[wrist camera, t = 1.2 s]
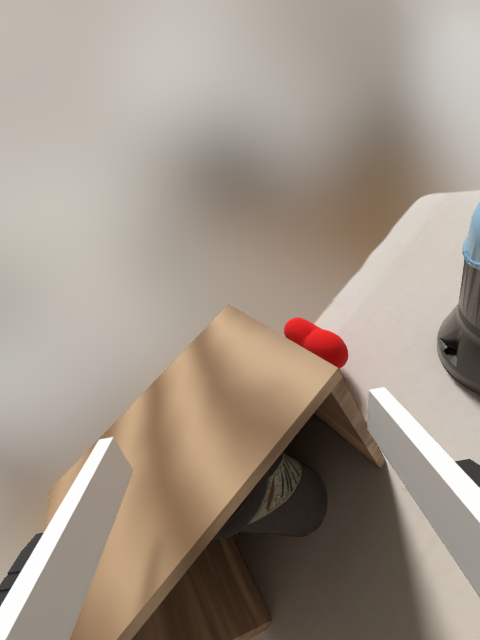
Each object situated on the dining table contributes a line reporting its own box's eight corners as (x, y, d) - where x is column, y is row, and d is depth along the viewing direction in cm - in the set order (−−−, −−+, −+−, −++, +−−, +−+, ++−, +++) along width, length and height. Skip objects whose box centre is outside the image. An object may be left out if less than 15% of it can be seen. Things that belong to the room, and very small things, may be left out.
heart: (364, 367, 38) (351, 332, 31) (343, 392, 37) (326, 361, 31) (310, 337, 47) (292, 306, 41) (292, 357, 46) (272, 328, 40)
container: (344, 516, 28) (278, 495, 16) (285, 556, 29) (177, 566, 16) (304, 448, 35) (237, 396, 22) (257, 482, 35) (167, 449, 23)
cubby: (307, 398, 39) (228, 304, 24) (385, 461, 29) (338, 367, 14) (213, 513, 36) (49, 490, 20) (264, 630, 26) (15, 763, 10)
